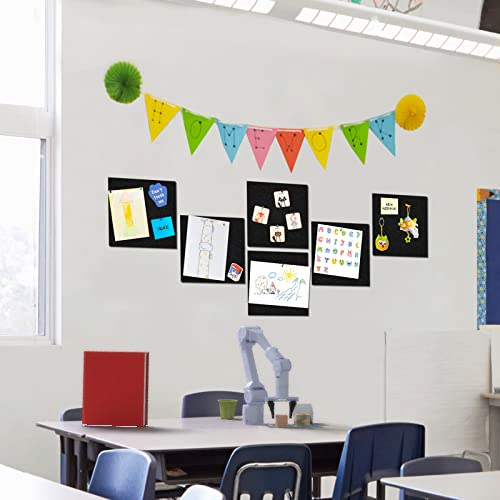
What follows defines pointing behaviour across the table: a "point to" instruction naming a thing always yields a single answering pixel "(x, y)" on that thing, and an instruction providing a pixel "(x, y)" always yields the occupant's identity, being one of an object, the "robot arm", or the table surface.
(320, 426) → the blueprint mat
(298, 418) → the maple base block
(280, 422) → the terracotta block
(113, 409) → the book
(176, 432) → the table surface
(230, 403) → the plant pot
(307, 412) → the small box
